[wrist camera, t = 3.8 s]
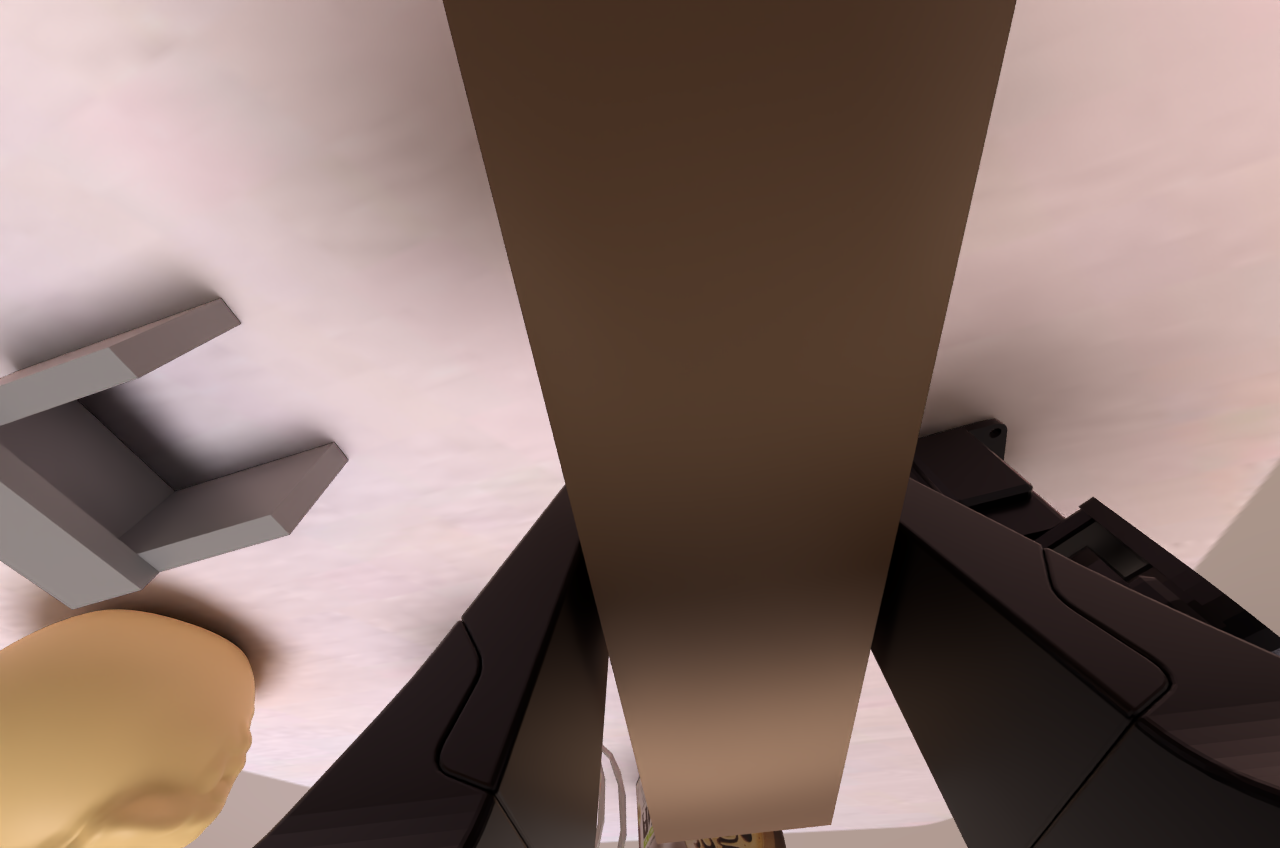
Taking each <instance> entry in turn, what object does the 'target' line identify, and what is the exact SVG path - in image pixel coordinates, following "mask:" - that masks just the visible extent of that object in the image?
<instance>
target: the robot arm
mask: <svg viewBox="0 0 1280 848" xmlns="http://www.w3.org/2000/svg"><path fill="white" fill-rule="evenodd" d="M993 429H994V430H993ZM992 430H993V431H992ZM991 431H992V432H991ZM1006 436H1007V427H1006V426H1005V424H1003V423H1002V422H1001V421H999V420H998V419H989V420H985V421H981V422H978V423H974V424H970V425H966V426H963V427H959V428H955V429H952V430H948V431H944V432H940V433H937V434H933V435H929V436H925V437H922V438H918V440H917V445H916V449H915V454H914V458H913V463H912V467H911V471H910V476H909V480H908V485H907V489H906V494H905V498H904V503H903V507H902V511H901V516H900V520H899V525H898V529H897V534H896V538H895V543H894V547H893V551H892V556H891V560H890V565H889V569H888V574H887V578H886V583H885V587H884V591H883V596H882V600H881V605H880V609H879V614H878V618H877V623H876V627H875V631H874V636H873V640H872V645H871V651H872V653H873V655H874V657H875V659H876V661H877V663H878V665H879V667H880V669H881V671H882V673H883V675H884V677H885V679H886V681H887V683H888V685H889V687H890V689H891V691H892V694H893V696H894V698H895V700H896V702H897V704H898V706H899V708H900V710H901V712H902V714H903V716H904V718H905V720H906V722H907V724H908V726H909V728H910V730H911V732H912V734H913V737H914V739H915V741H916V743H917V745H918V747H919V749H920V751H921V753H922V755H923V757H924V759H925V761H926V763H927V765H928V767H929V769H930V771H931V773H932V775H933V777H934V779H935V782H936V784H937V786H938V788H939V790H940V792H941V794H942V796H943V798H944V800H945V802H946V804H947V806H948V808H949V810H950V812H951V814H952V816H953V818H954V820H955V822H956V824H957V827H958V829H959V831H960V833H961V834H962V837H963V839H964V841H965V843H966V844H967V847H968V848H1280V637H1279V636H1278V635H1276V634H1275V633H1274V632H1273V631H1271V630H1270V629H1269V628H1267V627H1266V626H1265V625H1264V624H1262V623H1261V622H1260V621H1259V620H1257V619H1256V618H1255V617H1254V616H1252V615H1251V614H1250V613H1248V612H1247V611H1246V610H1245V609H1243V608H1242V607H1241V606H1240V605H1238V604H1237V603H1236V602H1234V601H1233V600H1232V599H1230V598H1229V597H1228V596H1227V595H1225V594H1224V593H1223V592H1221V591H1220V590H1219V589H1218V588H1216V587H1215V586H1214V585H1212V584H1211V583H1210V582H1208V581H1207V580H1206V579H1204V578H1203V577H1202V576H1200V575H1199V574H1198V573H1196V572H1195V571H1194V570H1192V569H1191V568H1190V567H1188V566H1187V565H1186V564H1184V563H1183V562H1181V561H1180V560H1179V559H1177V558H1176V557H1175V556H1173V555H1172V554H1171V553H1169V552H1168V551H1166V550H1165V549H1164V548H1162V547H1161V546H1160V545H1158V544H1157V543H1156V542H1154V541H1153V540H1151V539H1150V538H1149V537H1147V536H1146V535H1145V534H1143V533H1142V532H1141V531H1139V530H1138V529H1136V528H1135V527H1134V526H1132V525H1131V524H1130V523H1128V522H1127V521H1126V520H1124V519H1123V518H1121V517H1120V516H1119V515H1117V514H1116V513H1115V512H1113V511H1112V510H1111V509H1109V508H1108V507H1106V506H1105V505H1104V504H1102V503H1101V502H1100V501H1098V500H1097V499H1096V498H1094V497H1092V498H1091V499H1089V500H1088V501H1086V502H1085V503H1083V504H1082V505H1080V506H1079V508H1081V509H1080V510H1078V511H1077V512H1075V513H1074V514H1072V515H1071V516H1069V517H1067V518H1065V517H1063V516H1062V515H1061V514H1060V513H1059V512H1058V511H1056V510H1055V509H1054V508H1053V507H1052V506H1051V505H1049V504H1048V503H1047V502H1046V501H1045V500H1044V499H1043V498H1041V497H1040V496H1039V495H1038V494H1037V493H1036V492H1034V491H1033V490H1032V489H1033V487H1032V485H1031V484H1030V483H1029V482H1028V481H1027V480H1025V479H1024V478H1023V477H1022V476H1021V475H1020V474H1018V473H1017V472H1016V471H1015V470H1014V469H1013V468H1011V467H1010V466H1009V465H1008V464H1007V463H1006V462H1004V453H1005V444H1006ZM461 619H462V621H463V622H462V621H458V622H457V623H456V624H455V625H454V626H453V628H452V629H451V630H450V632H449V633H448V634H447V635H446V637H445V638H444V639H443V641H442V642H441V643H440V644H439V645H438V647H437V648H436V649H435V650H434V652H433V653H432V654H431V655H430V656H429V658H428V659H427V660H426V661H425V663H424V664H423V665H422V666H421V667H420V669H419V670H418V671H417V672H416V673H415V675H414V676H413V677H412V678H411V679H410V680H409V681H408V683H407V684H406V685H405V686H404V687H403V688H402V689H401V690H400V692H399V693H398V694H397V695H396V696H395V697H394V698H393V699H392V701H391V702H390V703H389V704H388V705H387V706H386V707H385V708H384V709H383V711H382V712H381V713H380V714H379V715H378V716H377V717H376V718H375V719H374V720H373V722H372V723H371V724H370V725H369V726H368V727H367V728H366V729H365V730H364V731H363V732H362V733H361V734H360V736H359V737H358V738H357V739H356V740H355V741H354V742H353V743H352V744H351V745H350V746H349V747H348V748H347V750H346V751H345V752H344V753H343V754H342V755H341V756H340V757H339V758H338V759H337V760H336V761H335V762H334V764H333V765H332V766H331V767H330V768H329V769H328V770H327V771H326V772H325V773H324V774H323V775H322V776H321V778H320V779H319V780H318V781H317V782H316V783H315V784H314V785H313V786H312V787H311V788H310V789H309V790H308V792H307V793H306V794H305V795H304V796H303V797H302V798H301V799H300V800H299V801H298V802H297V803H296V804H295V806H294V807H293V808H292V809H291V810H290V811H289V812H288V813H287V814H286V815H285V816H284V818H282V819H281V820H280V822H278V823H277V825H275V827H274V828H273V829H272V830H271V831H270V832H269V833H268V834H267V835H266V836H265V837H263V839H261V840H260V841H259V842H258V843H257V844H256V845H255V846H254V847H253V848H595V840H596V826H597V812H598V798H599V784H600V770H601V756H602V742H603V728H604V714H605V700H606V686H607V672H608V658H609V653H608V649H607V645H606V641H605V637H604V633H603V630H602V626H601V622H600V618H599V614H598V610H597V606H596V602H595V598H594V594H593V590H592V586H591V582H590V578H589V574H588V570H587V567H586V563H585V559H584V555H583V551H582V547H581V543H580V539H579V535H578V531H577V527H576V523H575V519H574V515H573V511H572V508H571V504H570V500H569V496H568V492H567V488H566V484H565V485H564V486H563V488H562V489H561V490H560V491H559V493H558V494H557V495H556V497H555V498H554V499H553V500H552V502H551V503H550V504H549V505H548V507H547V508H546V509H545V511H544V512H543V513H542V514H541V516H540V517H539V518H538V520H537V521H536V522H535V523H534V525H533V526H532V527H531V528H530V530H529V531H528V532H527V534H526V535H525V536H524V537H523V539H522V540H521V541H520V543H519V544H518V545H517V546H516V548H515V549H514V550H513V551H512V553H511V554H510V555H509V557H508V558H507V559H506V560H505V562H504V563H503V564H502V566H501V567H500V568H499V569H498V571H497V572H496V573H495V574H494V576H493V577H492V578H491V580H490V581H489V582H488V583H487V585H486V586H485V587H484V588H483V590H482V591H481V592H480V594H479V595H478V596H477V597H476V599H475V600H474V601H473V603H472V604H471V605H470V606H469V608H468V609H467V610H466V611H465V613H464V614H463V615H462V617H461Z"/></svg>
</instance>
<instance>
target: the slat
mask: <svg viewBox="0 0 1280 848" xmlns="http://www.w3.org/2000/svg"><path fill="white" fill-rule="evenodd" d="M443 4H444V8H445V12H446V16H447V20H448V23H449V27H450V31H451V35H452V39H453V43H454V47H455V51H456V55H457V59H458V63H459V67H460V71H461V75H462V79H463V82H464V86H465V90H466V94H467V98H468V102H469V106H470V110H471V114H472V118H473V122H474V126H475V130H476V134H477V138H478V142H479V145H480V149H481V153H482V157H483V161H484V165H485V169H486V173H487V177H488V181H489V185H490V189H491V193H492V197H493V201H494V204H495V208H496V212H497V216H498V220H499V224H500V228H501V232H502V236H503V240H504V244H505V248H506V252H507V256H508V260H509V264H510V267H511V271H512V275H513V279H514V283H515V287H516V291H517V295H518V299H519V303H520V307H521V311H522V315H523V319H524V323H525V326H526V330H527V334H528V338H529V342H530V346H531V350H532V354H533V358H534V362H535V366H536V370H537V374H538V378H539V382H540V386H541V389H542V393H543V397H544V401H545V405H546V409H547V413H548V417H549V421H550V425H551V429H552V433H553V437H554V441H555V445H556V448H557V452H558V456H559V460H560V464H561V468H562V472H563V476H564V480H565V484H566V488H567V492H568V496H569V500H570V504H571V508H572V511H573V515H574V519H575V523H576V527H577V531H578V535H579V539H580V543H581V547H582V551H583V555H584V559H585V563H586V567H587V570H588V574H589V578H590V582H591V586H592V590H593V594H594V598H595V602H596V606H597V610H598V614H599V618H600V622H601V626H602V630H603V633H604V637H605V641H606V645H607V649H608V653H609V657H610V661H611V665H612V669H613V673H614V677H615V681H616V685H617V689H618V692H619V696H620V700H621V704H622V708H623V712H624V716H625V720H626V724H627V728H628V732H629V736H630V740H631V744H632V748H633V752H634V755H635V759H636V763H637V767H638V771H639V775H640V779H641V783H642V787H643V791H644V795H645V799H646V803H647V807H648V811H649V814H650V818H651V822H652V826H653V830H654V834H655V838H656V842H657V844H662V843H671V842H680V841H689V840H698V839H707V838H716V837H725V836H734V835H743V834H752V833H761V832H770V831H779V830H788V829H797V828H806V827H815V826H824V825H831V823H832V818H833V814H834V809H835V805H836V800H837V796H838V792H839V787H840V783H841V778H842V774H843V769H844V765H845V760H846V756H847V752H848V747H849V743H850V738H851V734H852V729H853V725H854V720H855V716H856V712H857V707H858V703H859V698H860V694H861V689H862V685H863V680H864V676H865V672H866V667H867V663H868V658H869V654H870V649H871V645H872V640H873V636H874V631H875V627H876V623H877V618H878V614H879V609H880V605H881V600H882V596H883V591H884V587H885V583H886V578H887V574H888V569H889V565H890V560H891V556H892V551H893V547H894V543H895V538H896V534H897V529H898V525H899V520H900V516H901V511H902V507H903V503H904V498H905V494H906V489H907V485H908V480H909V476H910V471H911V467H912V463H913V458H914V454H915V449H916V445H917V440H918V436H919V431H920V427H921V423H922V418H923V414H924V409H925V405H926V400H927V396H928V391H929V387H930V383H931V378H932V374H933V369H934V365H935V360H936V356H937V351H938V347H939V343H940V338H941V334H942V329H943V325H944V320H945V316H946V311H947V307H948V302H949V298H950V294H951V289H952V285H953V280H954V276H955V271H956V267H957V262H958V258H959V254H960V249H961V245H962V240H963V236H964V231H965V227H966V222H967V218H968V214H969V209H970V205H971V200H972V196H973V191H974V187H975V182H976V178H977V174H978V169H979V165H980V160H981V156H982V151H983V147H984V142H985V138H986V134H987V129H988V125H989V120H990V116H991V111H992V107H993V102H994V98H995V94H996V89H997V85H998V80H999V76H1000V71H1001V67H1002V62H1003V58H1004V54H1005V49H1006V45H1007V40H1008V36H1009V31H1010V27H1011V22H1012V18H1013V14H1014V9H1015V5H1016V0H443Z"/></svg>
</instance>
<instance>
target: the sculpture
mask: <svg viewBox="0 0 1280 848" xmlns="http://www.w3.org/2000/svg"><path fill="white" fill-rule="evenodd" d="M254 701H255V682H254V676H253V672H252V668H251V666H250V663H249V661H248V659H247V657H246V656H245V654H244V653H243V652H242V651H241V650H240V649H239V648H238V647H237V646H236V645H234V644H233V643H232V642H230V641H228V640H227V639H225V638H223V637H221V636H219V635H217V634H215V633H213V632H211V631H209V630H206V629H204V628H201V627H198V626H196V625H193V624H190V623H187V622H184V621H181V620H177V619H174V618H170V617H166V616H162V615H158V614H153V613H148V612H143V611H135V610H122V609H112V610H100V611H94V612H89V613H85V614H81V615H78V616H74V617H71V618H68V619H65V620H62V621H60V622H57V623H54V624H52V625H49V626H47V627H45V628H42V629H40V630H38V631H36V632H34V633H32V634H29V635H27V636H25V637H24V638H22V639H20V640H18V641H16V642H14V643H12V644H11V645H9V646H7V647H5V648H4V649H2V650H0V848H183V847H185V846H187V845H188V844H190V843H191V842H192V841H194V840H195V839H196V838H197V837H198V836H199V835H200V834H201V833H202V832H203V831H204V830H205V828H206V827H208V826H209V825H210V824H211V823H212V822H213V821H214V820H215V818H216V817H217V816H218V815H219V813H220V812H221V810H222V808H223V807H224V805H225V802H226V799H227V797H228V794H229V792H230V790H231V788H232V786H233V783H234V781H235V780H236V778H237V776H238V774H239V773H240V772H241V770H242V769H243V768H244V765H245V762H246V753H247V751H248V750H249V748H250V746H251V743H252V736H251V733H250V730H249V729H250V725H251V720H252V718H253V715H254V709H255V708H254Z"/></svg>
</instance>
